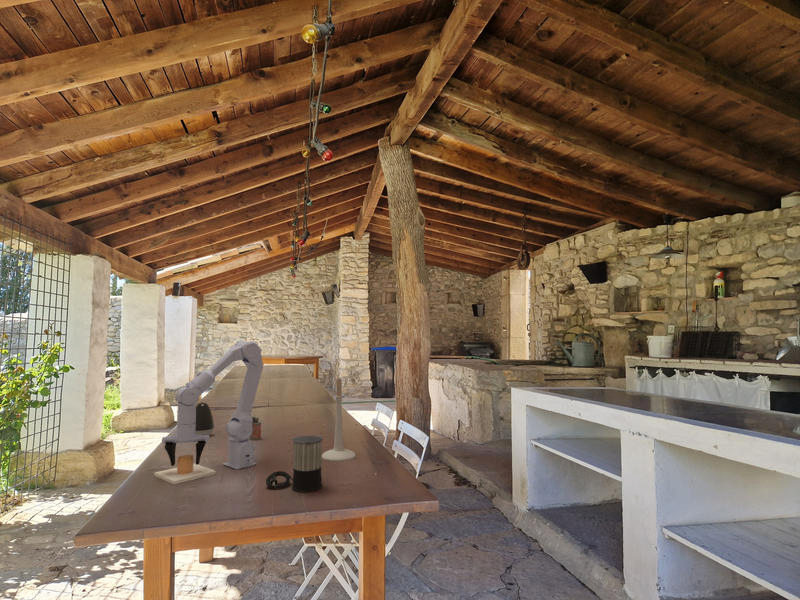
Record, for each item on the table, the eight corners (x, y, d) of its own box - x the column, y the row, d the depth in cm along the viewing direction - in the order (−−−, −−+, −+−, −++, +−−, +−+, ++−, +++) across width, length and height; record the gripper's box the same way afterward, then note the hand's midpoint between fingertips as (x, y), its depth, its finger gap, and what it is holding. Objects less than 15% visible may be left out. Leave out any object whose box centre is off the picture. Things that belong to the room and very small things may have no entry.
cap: (194, 469, 162) (194, 454, 162) (191, 473, 157) (191, 458, 157) (179, 470, 161) (180, 455, 161) (176, 474, 156) (176, 458, 157)
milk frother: (326, 489, 144) (327, 440, 145) (274, 498, 137) (275, 446, 138) (311, 477, 157) (312, 431, 158) (263, 484, 149) (263, 436, 150)
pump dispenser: (209, 432, 222) (210, 399, 223) (216, 436, 214) (217, 402, 215) (186, 436, 216) (187, 402, 217) (193, 440, 208) (194, 405, 209)
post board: (215, 474, 160) (216, 459, 160) (173, 484, 149) (174, 468, 149) (195, 466, 169) (195, 452, 169) (154, 475, 158) (154, 461, 158)
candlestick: (339, 450, 190) (339, 375, 192) (362, 456, 182) (362, 377, 184) (314, 457, 180) (315, 377, 182) (337, 463, 172) (338, 379, 174)
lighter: (262, 438, 210) (262, 415, 211) (259, 440, 207) (259, 417, 208) (244, 438, 211) (245, 415, 212) (241, 440, 208) (241, 417, 208)
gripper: (211, 420, 165) (210, 460, 164) (166, 421, 162) (165, 462, 162) (207, 424, 158) (206, 465, 157) (160, 425, 155) (159, 468, 155)
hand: (185, 464), depth 159 cm, fingers open, 7 cm apart
